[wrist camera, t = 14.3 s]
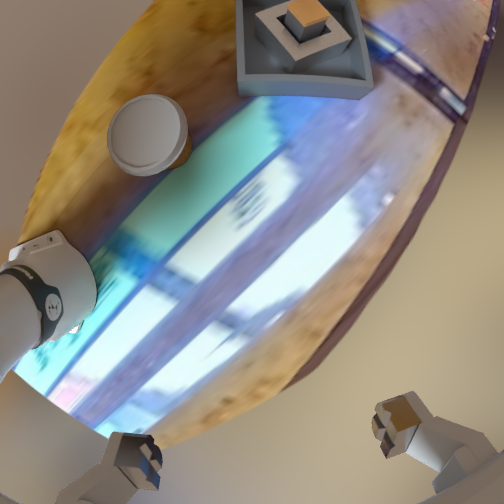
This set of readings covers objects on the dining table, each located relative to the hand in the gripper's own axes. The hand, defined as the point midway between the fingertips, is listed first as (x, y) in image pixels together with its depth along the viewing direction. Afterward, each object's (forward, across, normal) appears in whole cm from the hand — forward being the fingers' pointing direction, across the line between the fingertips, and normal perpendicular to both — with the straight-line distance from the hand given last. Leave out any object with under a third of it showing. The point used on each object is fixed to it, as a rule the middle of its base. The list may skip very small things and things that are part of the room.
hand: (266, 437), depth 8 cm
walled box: (+36, -12, -28) cm, 47 cm away
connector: (+32, -12, -28) cm, 44 cm away
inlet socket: (+36, -12, -28) cm, 47 cm away
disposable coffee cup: (+36, +8, -13) cm, 39 cm away
